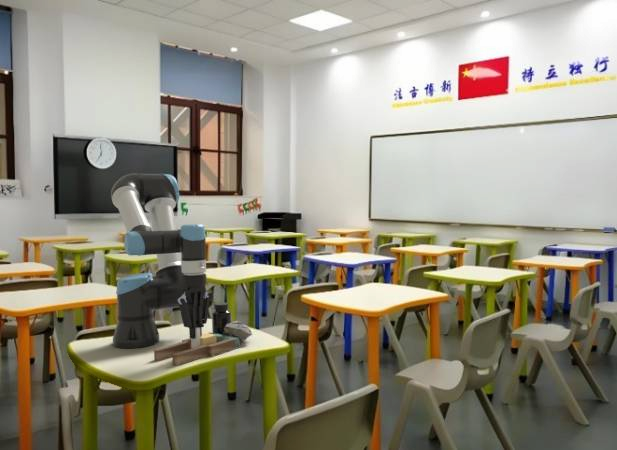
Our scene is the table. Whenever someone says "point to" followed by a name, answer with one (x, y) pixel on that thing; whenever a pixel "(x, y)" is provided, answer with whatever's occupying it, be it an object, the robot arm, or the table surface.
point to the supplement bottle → (220, 318)
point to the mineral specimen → (237, 330)
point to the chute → (195, 349)
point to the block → (208, 339)
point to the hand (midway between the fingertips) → (196, 347)
